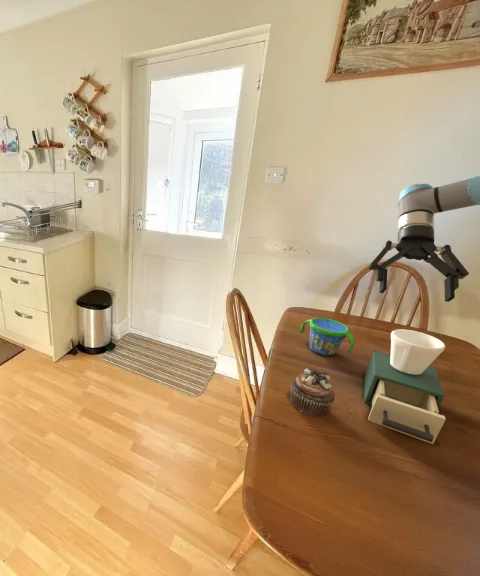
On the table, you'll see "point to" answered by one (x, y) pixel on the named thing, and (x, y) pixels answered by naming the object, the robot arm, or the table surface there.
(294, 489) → the table surface
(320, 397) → the cupcake
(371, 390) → the cabinet
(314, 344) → the snack cup
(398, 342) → the cup
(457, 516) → the table surface
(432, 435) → the drawer
